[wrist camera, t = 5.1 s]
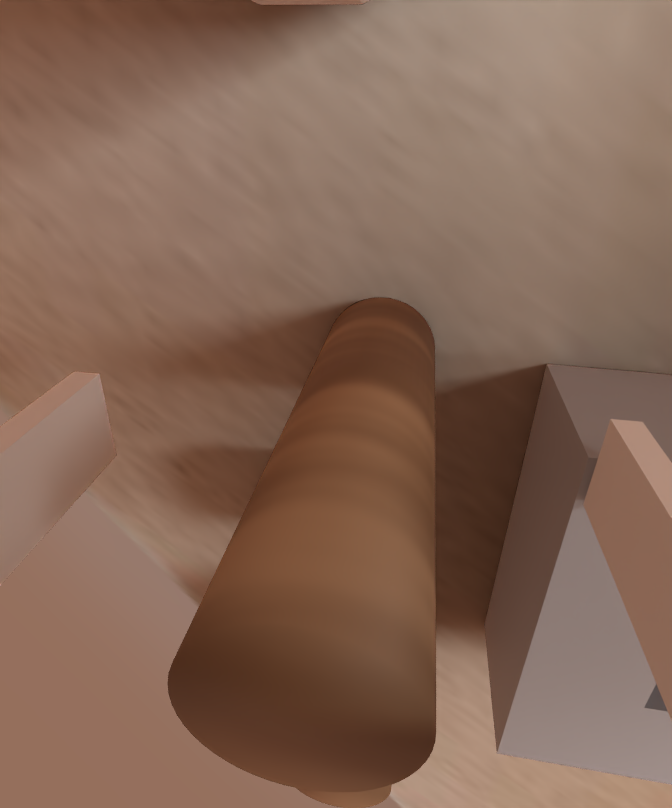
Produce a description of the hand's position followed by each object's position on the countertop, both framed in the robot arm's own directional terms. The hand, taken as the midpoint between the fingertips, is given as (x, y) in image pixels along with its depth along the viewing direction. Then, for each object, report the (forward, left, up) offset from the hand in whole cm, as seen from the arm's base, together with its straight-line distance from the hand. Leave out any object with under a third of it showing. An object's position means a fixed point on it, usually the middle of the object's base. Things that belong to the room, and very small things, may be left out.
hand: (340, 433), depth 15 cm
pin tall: (0, +1, -6) cm, 6 cm away
